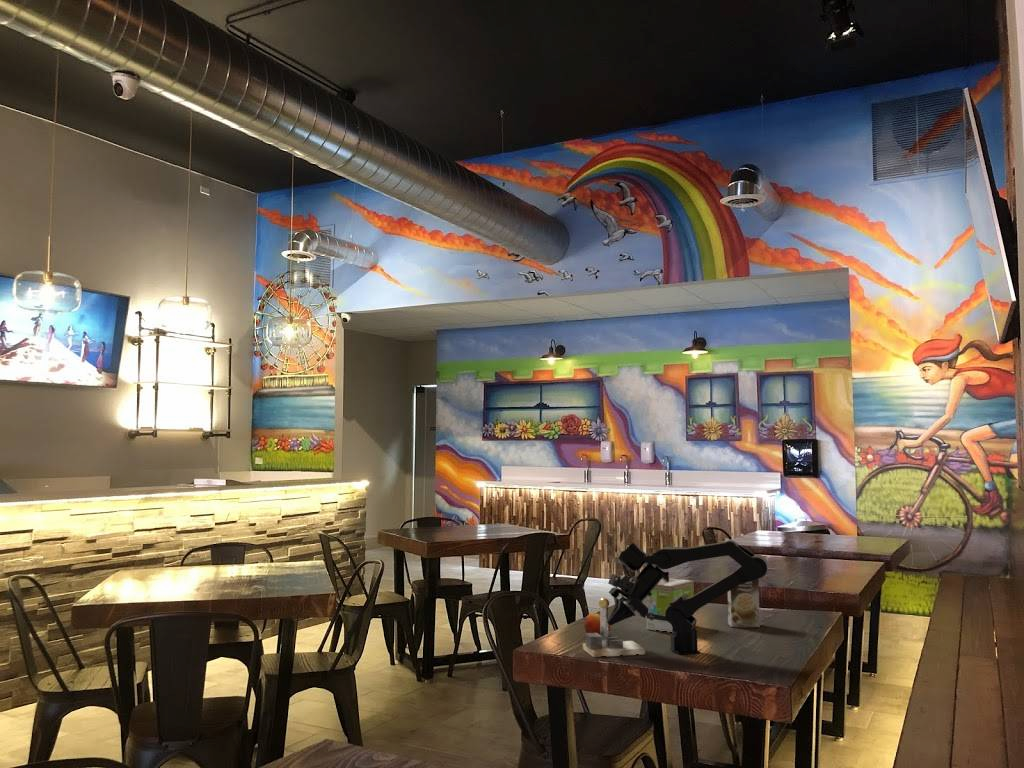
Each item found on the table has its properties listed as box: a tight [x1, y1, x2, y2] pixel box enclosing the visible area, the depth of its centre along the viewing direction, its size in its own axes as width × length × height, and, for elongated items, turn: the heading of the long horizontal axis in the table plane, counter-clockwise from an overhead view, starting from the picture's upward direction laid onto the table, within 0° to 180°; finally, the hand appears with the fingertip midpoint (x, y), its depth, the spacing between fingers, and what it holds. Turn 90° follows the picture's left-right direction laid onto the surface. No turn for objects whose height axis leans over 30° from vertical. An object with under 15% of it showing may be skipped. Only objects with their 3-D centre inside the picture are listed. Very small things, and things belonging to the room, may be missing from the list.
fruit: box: [584, 612, 612, 635], centre depth 251 cm, size 8×8×8 cm
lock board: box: [582, 632, 646, 658], centre depth 232 cm, size 15×10×5 cm, turn 102°
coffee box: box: [727, 573, 760, 628], centre depth 266 cm, size 9×6×16 cm
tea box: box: [646, 577, 695, 633], centre depth 264 cm, size 15×10×15 cm, turn 143°
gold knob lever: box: [598, 597, 610, 647], centre depth 232 cm, size 6×3×13 cm, turn 102°
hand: (608, 624), depth 232 cm, fingers closed, pressing on gold knob lever
